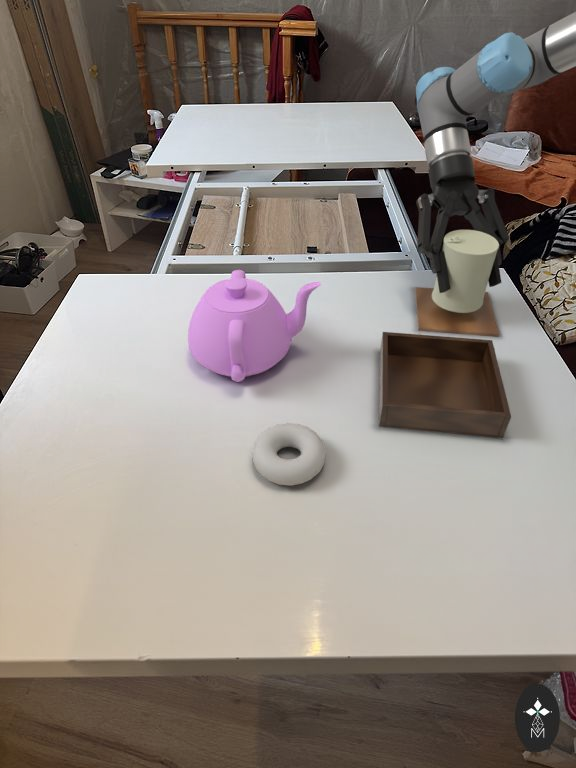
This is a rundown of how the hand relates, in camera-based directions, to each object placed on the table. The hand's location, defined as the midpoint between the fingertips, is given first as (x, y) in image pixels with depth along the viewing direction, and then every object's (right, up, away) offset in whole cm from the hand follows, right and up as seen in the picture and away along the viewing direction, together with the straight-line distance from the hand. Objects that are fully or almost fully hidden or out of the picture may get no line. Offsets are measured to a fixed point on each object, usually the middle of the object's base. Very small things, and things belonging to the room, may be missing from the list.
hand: (470, 287), depth 93 cm
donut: (-32, -28, -20) cm, 46 cm away
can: (-1, -1, +5) cm, 6 cm away
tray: (-9, -18, -9) cm, 22 cm away
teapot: (-38, -12, -2) cm, 39 cm away
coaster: (-1, -3, +7) cm, 8 cm away
